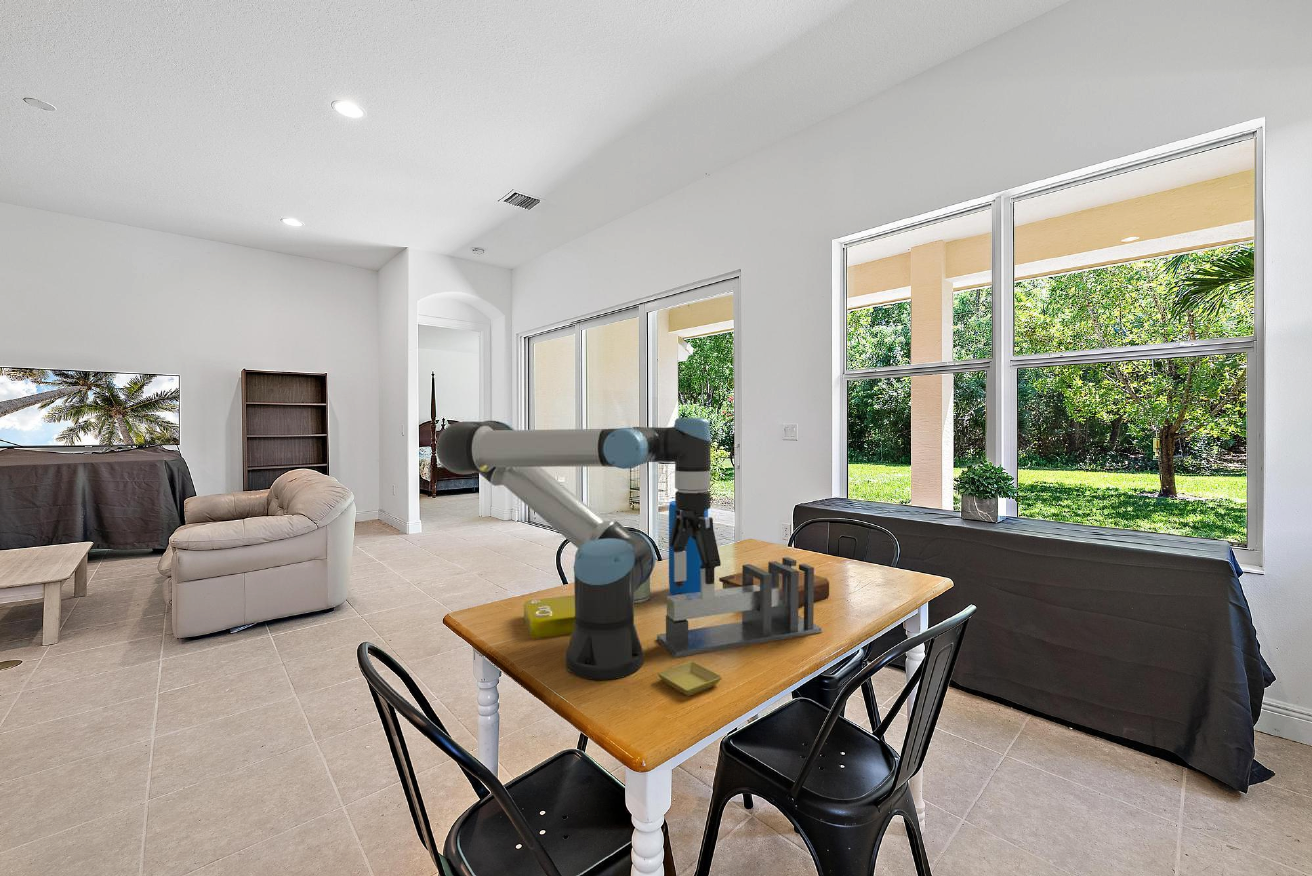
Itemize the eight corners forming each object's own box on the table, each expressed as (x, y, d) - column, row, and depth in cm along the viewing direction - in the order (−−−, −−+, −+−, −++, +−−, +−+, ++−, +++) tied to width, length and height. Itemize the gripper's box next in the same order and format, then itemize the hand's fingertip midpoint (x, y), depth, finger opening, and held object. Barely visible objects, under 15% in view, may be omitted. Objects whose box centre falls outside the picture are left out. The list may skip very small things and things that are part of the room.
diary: (772, 618, 136) (772, 595, 135) (719, 598, 150) (719, 577, 150) (829, 599, 150) (829, 578, 149) (775, 582, 164) (775, 563, 164)
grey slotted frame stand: (675, 657, 112) (675, 584, 111) (657, 639, 121) (657, 571, 121) (821, 632, 125) (822, 566, 125) (794, 617, 134) (795, 556, 134)
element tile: (598, 631, 127) (598, 611, 126) (531, 641, 121) (531, 619, 121) (583, 610, 141) (582, 591, 140) (522, 618, 135) (522, 598, 135)
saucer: (656, 683, 102) (656, 671, 102) (692, 670, 107) (692, 659, 107) (686, 702, 95) (686, 690, 95) (723, 687, 100) (723, 676, 100)
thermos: (661, 595, 152) (662, 504, 151) (678, 584, 161) (678, 499, 160) (698, 601, 146) (698, 507, 146) (713, 590, 156) (714, 501, 155)
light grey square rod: (674, 621, 115) (674, 601, 115) (666, 615, 119) (666, 595, 119) (780, 606, 124) (780, 587, 124) (770, 600, 128) (770, 582, 128)
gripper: (737, 496, 107) (738, 605, 108) (684, 483, 131) (684, 572, 131) (703, 499, 105) (703, 610, 105) (654, 484, 128) (655, 575, 129)
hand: (693, 589), depth 118 cm, fingers open, 13 cm apart
